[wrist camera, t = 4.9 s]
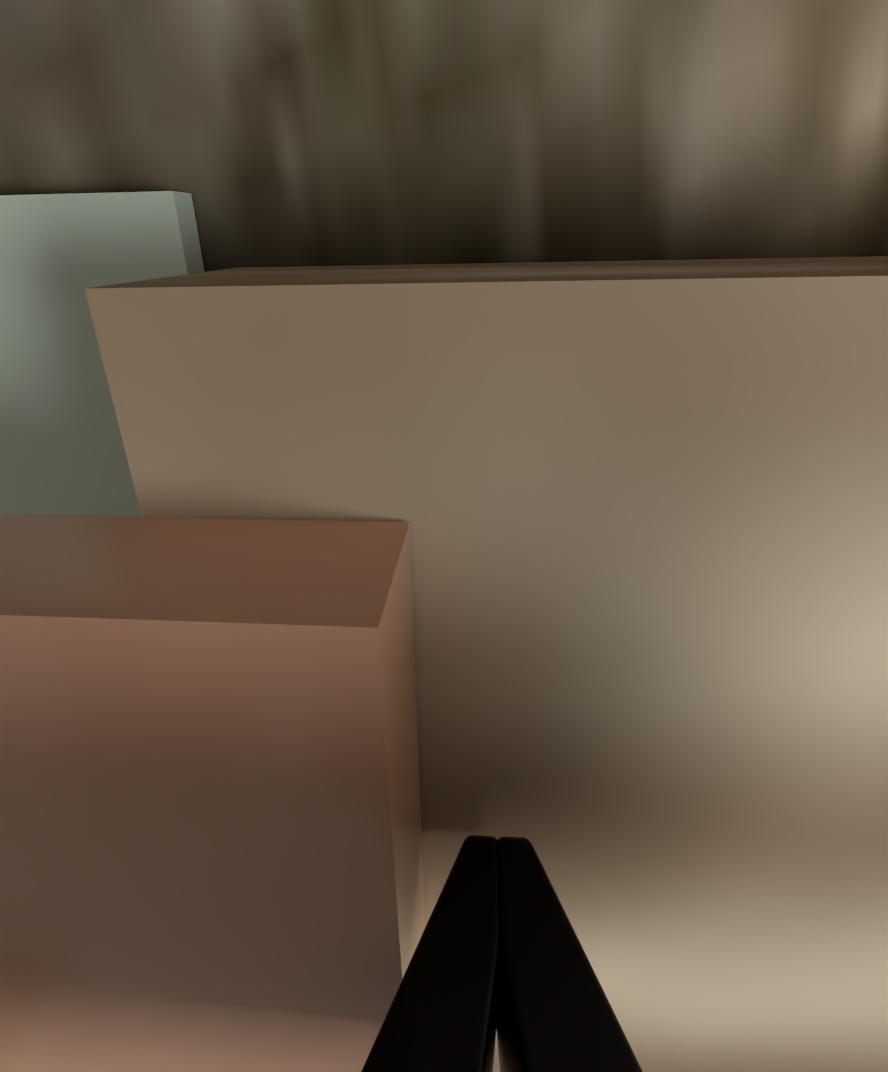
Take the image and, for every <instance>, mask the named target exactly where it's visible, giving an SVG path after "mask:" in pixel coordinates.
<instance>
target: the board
mask: <svg viewBox="0 0 888 1072" xmlns="http://www.w3.org/2000/svg"><path fill="white" fill-rule="evenodd" d="M85 293H86V297H87V301H88V305H89V309H90V313H91V317H92V321H93V325H94V329H95V333H96V337H97V341H98V345H99V349H100V353H101V357H102V361H103V365H104V369H105V373H106V377H107V381H108V385H109V389H110V393H111V397H112V401H113V405H114V409H115V413H116V417H117V421H118V425H119V429H120V433H121V437H122V440H123V444H124V448H125V452H126V456H127V460H128V464H129V468H130V472H131V476H132V480H133V484H134V488H135V492H136V496H137V500H138V504H139V508H140V512H141V516H150V517H197V518H244V519H291V520H339V521H385V522H410V541H411V567H412V593H413V619H414V645H415V671H416V697H417V723H418V749H419V775H420V801H421V827H422V853H423V879H424V905H425V927H426V925H427V922H428V920H429V918H430V916H431V913H432V911H433V909H434V907H435V904H436V902H437V900H438V898H439V895H440V893H441V891H442V889H443V887H444V884H445V882H446V880H447V878H448V875H449V873H450V871H451V869H452V866H453V864H454V862H455V860H456V857H457V855H458V853H459V851H460V848H461V846H462V844H463V842H464V840H465V839H466V837H467V836H469V835H482V836H493V837H495V838H496V839H497V840H498V839H499V838H500V837H503V836H505V837H524V838H527V839H528V840H529V841H530V842H531V843H532V845H533V847H534V849H535V851H536V853H537V855H538V857H539V859H540V861H541V863H542V865H543V867H544V869H545V871H546V874H547V876H548V878H549V880H550V882H551V884H552V886H553V888H554V890H555V892H556V894H557V896H558V898H559V900H560V902H561V904H562V906H563V908H564V910H565V913H566V915H567V917H568V919H569V921H570V923H571V925H572V927H573V929H574V931H575V933H576V935H577V937H578V939H579V941H580V943H581V945H582V947H583V949H584V952H585V954H586V956H587V958H588V960H589V962H590V964H591V966H592V968H593V970H594V972H595V974H596V976H597V978H598V980H599V982H600V984H601V986H602V988H603V990H604V993H605V995H606V997H607V999H608V1001H609V1003H610V1005H611V1007H612V1009H613V1011H614V1013H615V1015H616V1017H617V1019H618V1021H619V1023H620V1025H621V1027H622V1029H623V1032H624V1034H625V1036H626V1038H627V1040H628V1042H629V1044H630V1046H631V1048H632V1050H633V1052H634V1054H635V1056H636V1058H637V1060H638V1062H639V1064H640V1066H641V1068H642V1071H643V1072H888V256H861V257H804V258H748V259H692V260H635V261H579V262H523V263H466V264H410V265H354V266H297V267H241V268H229V269H222V270H215V271H208V272H200V273H193V274H186V275H179V276H171V277H164V278H157V279H150V280H143V281H135V282H128V283H121V284H114V285H106V286H99V287H92V288H85ZM493 1072H500V1065H499V1055H498V1043H497V1031H496V1040H495V1054H494V1064H493Z"/></svg>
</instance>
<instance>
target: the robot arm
mask: <svg viewBox="0 0 888 1072" xmlns="http://www.w3.org/2000/svg"><path fill="white" fill-rule="evenodd" d="M496 1031H497V1043H498V1055H499V1065H500V1072H643V1071H642V1068H641V1066H640V1064H639V1062H638V1060H637V1058H636V1056H635V1054H634V1052H633V1050H632V1048H631V1046H630V1044H629V1042H628V1040H627V1038H626V1036H625V1034H624V1032H623V1029H622V1027H621V1025H620V1023H619V1021H618V1019H617V1017H616V1015H615V1013H614V1011H613V1009H612V1007H611V1005H610V1003H609V1001H608V999H607V997H606V995H605V993H604V990H603V988H602V986H601V984H600V982H599V980H598V978H597V976H596V974H595V972H594V970H593V968H592V966H591V964H590V962H589V960H588V958H587V956H586V954H585V952H584V949H583V947H582V945H581V943H580V941H579V939H578V937H577V935H576V933H575V931H574V929H573V927H572V925H571V923H570V921H569V919H568V917H567V915H566V913H565V910H564V908H563V906H562V904H561V902H560V900H559V898H558V896H557V894H556V892H555V890H554V888H553V886H552V884H551V882H550V880H549V878H548V876H547V874H546V871H545V869H544V867H543V865H542V863H541V861H540V859H539V857H538V855H537V853H536V851H535V849H534V847H533V845H532V843H531V842H530V841H529V840H528V839H527V838H524V837H505V836H503V837H500V838H499V839H498V840H497V839H496V838H495V837H493V836H482V835H469V836H467V837H466V839H465V840H464V842H463V844H462V846H461V848H460V851H459V853H458V855H457V857H456V860H455V862H454V864H453V866H452V869H451V871H450V873H449V875H448V878H447V880H446V882H445V884H444V887H443V889H442V891H441V893H440V895H439V898H438V900H437V902H436V904H435V907H434V909H433V911H432V913H431V916H430V918H429V920H428V922H427V925H426V927H425V929H424V931H423V934H422V936H421V938H420V940H419V943H418V945H417V947H416V949H415V952H414V954H413V956H412V958H411V961H410V963H409V965H408V967H407V970H406V972H405V974H404V976H403V979H402V981H401V983H400V985H399V988H398V990H397V992H396V994H395V997H394V999H393V1001H392V1003H391V1006H390V1008H389V1010H388V1012H387V1015H386V1017H385V1019H384V1021H383V1024H382V1026H381V1028H380V1030H379V1033H378V1035H377V1037H376V1039H375V1042H374V1044H373V1046H372V1048H371V1051H370V1053H369V1055H368V1057H367V1060H366V1062H365V1064H364V1066H363V1069H362V1071H361V1072H493V1064H494V1054H495V1040H496Z"/></svg>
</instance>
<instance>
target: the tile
mask: <svg viewBox="0 0 888 1072" xmlns="http://www.w3.org/2000/svg"><path fill="white" fill-rule="evenodd" d="M424 929H425V905H424V879H423V853H422V827H421V801H420V775H419V749H418V723H417V697H416V671H415V645H414V619H413V593H412V567H411V541H410V522H385V521H339V520H291V519H244V518H197V517H150V516H103V515H56V514H9V513H0V1072H361V1071H362V1069H363V1066H364V1064H365V1062H366V1060H367V1057H368V1055H369V1053H370V1051H371V1048H372V1046H373V1044H374V1042H375V1039H376V1037H377V1035H378V1033H379V1030H380V1028H381V1026H382V1024H383V1021H384V1019H385V1017H386V1015H387V1012H388V1010H389V1008H390V1006H391V1003H392V1001H393V999H394V997H395V994H396V992H397V990H398V988H399V985H400V983H401V981H402V979H403V976H404V974H405V972H406V970H407V967H408V965H409V963H410V961H411V958H412V956H413V954H414V952H415V949H416V947H417V945H418V943H419V940H420V938H421V936H422V934H423V931H424Z"/></svg>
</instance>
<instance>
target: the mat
mask: <svg viewBox="0 0 888 1072" xmlns="http://www.w3.org/2000/svg"><path fill="white" fill-rule="evenodd" d="M200 272H205V271H204V266H203V260H202V254H201V248H200V242H199V236H198V230H197V225H196V219H195V213H194V207H193V201H192V195H191V193H184V192H177V191H151V192H112V193H72V194H33V195H0V513H9V514H56V515H103V516H141V512H140V508H139V504H138V500H137V496H136V492H135V488H134V484H133V480H132V476H131V472H130V468H129V464H128V460H127V456H126V452H125V448H124V444H123V440H122V437H121V433H120V429H119V425H118V421H117V417H116V413H115V409H114V405H113V401H112V397H111V393H110V389H109V385H108V381H107V377H106V373H105V369H104V365H103V361H102V357H101V353H100V349H99V345H98V341H97V337H96V333H95V329H94V325H93V321H92V317H91V313H90V309H89V305H88V301H87V297H86V293H85V288H92V287H99V286H106V285H114V284H121V283H128V282H135V281H143V280H150V279H157V278H164V277H171V276H179V275H186V274H193V273H200Z"/></svg>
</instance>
